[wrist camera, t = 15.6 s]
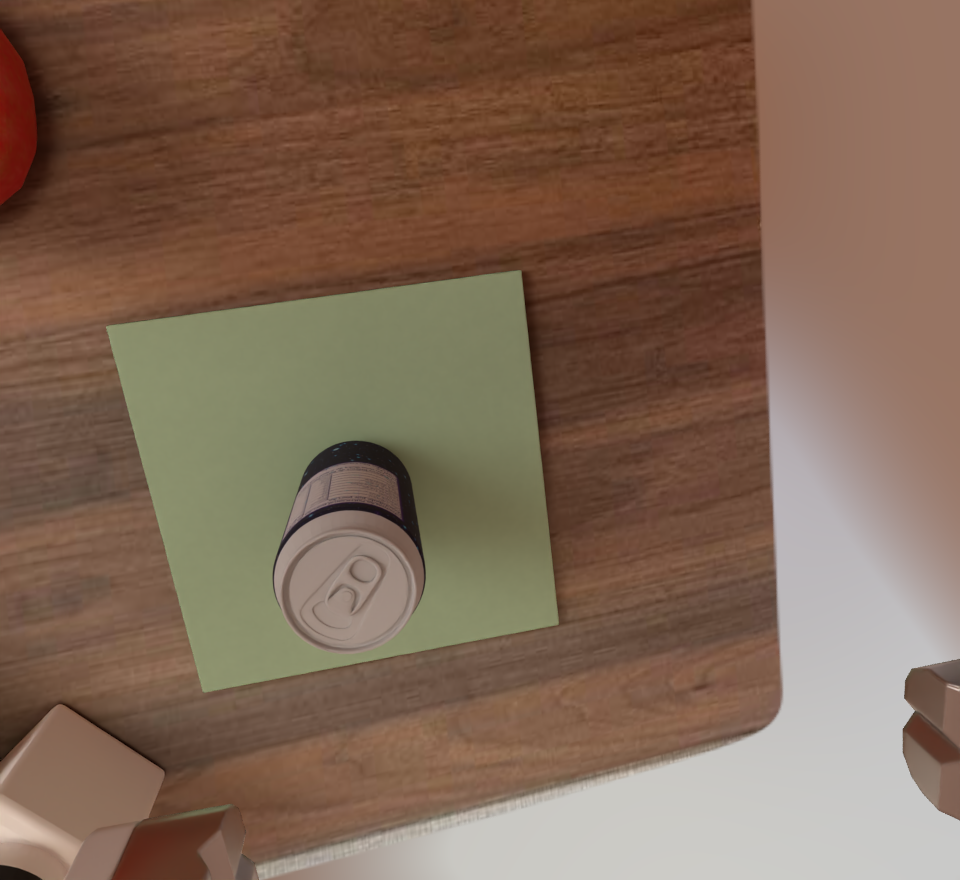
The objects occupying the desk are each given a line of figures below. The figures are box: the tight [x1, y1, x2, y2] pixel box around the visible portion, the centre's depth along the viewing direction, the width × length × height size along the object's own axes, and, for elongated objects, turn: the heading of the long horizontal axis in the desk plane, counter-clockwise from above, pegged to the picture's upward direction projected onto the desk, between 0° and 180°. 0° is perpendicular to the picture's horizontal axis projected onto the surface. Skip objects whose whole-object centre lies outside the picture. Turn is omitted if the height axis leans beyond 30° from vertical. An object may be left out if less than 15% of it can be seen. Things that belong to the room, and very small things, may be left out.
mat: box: [106, 270, 559, 693], centre depth 37 cm, size 20×20×1 cm
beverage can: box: [272, 441, 426, 654], centre depth 31 cm, size 6×6×12 cm
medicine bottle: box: [0, 704, 165, 880], centre depth 33 cm, size 7×7×12 cm
